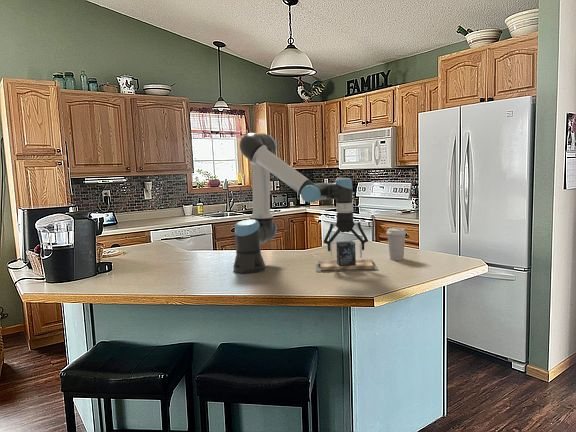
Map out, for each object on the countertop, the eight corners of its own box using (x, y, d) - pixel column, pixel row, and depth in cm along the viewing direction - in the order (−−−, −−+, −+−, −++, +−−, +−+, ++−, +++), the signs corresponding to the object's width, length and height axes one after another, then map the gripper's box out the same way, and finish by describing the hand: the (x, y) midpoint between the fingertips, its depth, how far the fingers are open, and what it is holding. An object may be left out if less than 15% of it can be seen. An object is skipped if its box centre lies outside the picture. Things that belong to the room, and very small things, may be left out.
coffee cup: (408, 260, 214) (408, 230, 212) (389, 261, 214) (388, 231, 212) (404, 256, 223) (403, 227, 221) (385, 257, 223) (384, 228, 222)
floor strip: (318, 266, 208) (318, 263, 208) (318, 264, 214) (318, 260, 214) (373, 265, 207) (373, 261, 206) (372, 262, 212) (372, 259, 212)
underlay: (316, 272, 200) (316, 271, 200) (316, 264, 215) (316, 263, 215) (378, 270, 198) (378, 269, 198) (374, 262, 213) (374, 262, 213)
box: (339, 266, 200) (338, 243, 199) (336, 264, 206) (336, 241, 205) (356, 265, 201) (355, 242, 200) (353, 262, 206) (352, 240, 206)
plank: (320, 270, 201) (320, 267, 200) (320, 266, 208) (320, 263, 208) (373, 268, 199) (373, 265, 199) (371, 265, 207) (371, 262, 206)
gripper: (317, 214, 197) (319, 260, 200) (373, 211, 196) (374, 258, 198) (317, 212, 205) (319, 256, 207) (371, 210, 203) (372, 255, 206)
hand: (346, 257), depth 203 cm, fingers open, 13 cm apart
